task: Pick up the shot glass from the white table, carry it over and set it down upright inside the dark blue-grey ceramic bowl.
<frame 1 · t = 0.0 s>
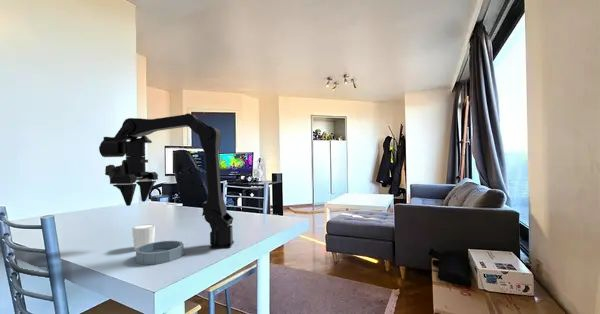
hand: (136, 203, 97), 15 cm above the table, tool pointing down, fingers open, 9 cm apart
bowl: (160, 256, 87), on the table
shot glass: (144, 248, 97), on the table
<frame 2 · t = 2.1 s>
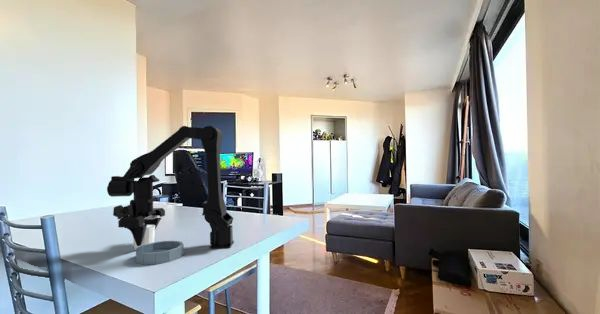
hand: (144, 242, 97), 2 cm above the table, tool pointing down, fingers closed on shot glass, 6 cm apart
shot glass: (144, 248, 97), on the table, touching gripper
when the fingers open (4 cm above the table, at t = 7.0 s): shot glass drops 2 cm, resting on bowl.
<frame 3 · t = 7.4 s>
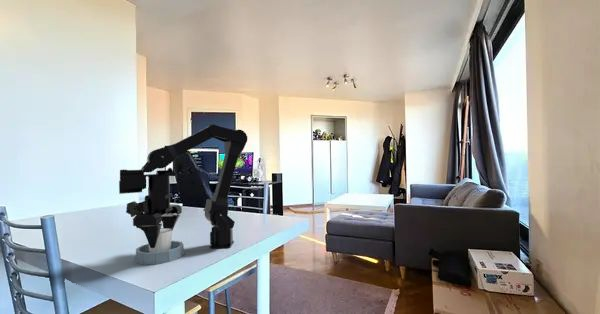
hand: (160, 243, 87), 4 cm above the table, tool pointing down, fingers open, 9 cm apart
shot glass: (160, 254, 87), point 1 cm above the table, touching bowl
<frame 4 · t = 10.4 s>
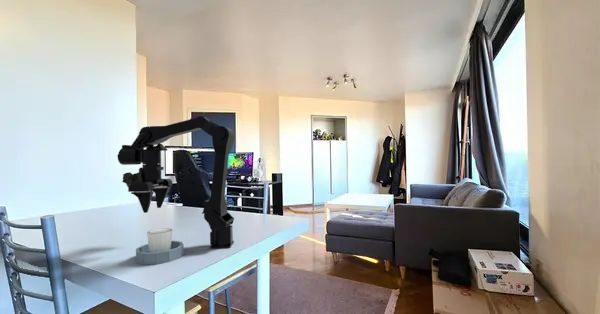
hand: (152, 210, 99), 12 cm above the table, tool pointing down, fingers open, 9 cm apart
nothing on the table moved.
at the end: shot glass inside the target area on the bowl (0.0 cm from its centre), point 0.6 cm above the bowl's base; shot glass tilted 0°; the gripper is holding nothing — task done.
